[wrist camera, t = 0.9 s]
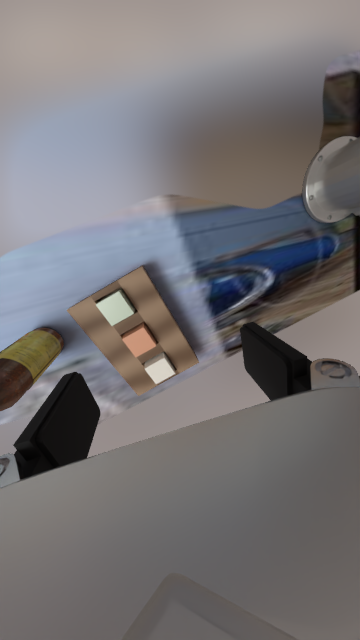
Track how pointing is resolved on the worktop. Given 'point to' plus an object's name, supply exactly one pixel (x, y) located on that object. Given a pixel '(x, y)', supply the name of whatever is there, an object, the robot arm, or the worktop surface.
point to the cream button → (159, 367)
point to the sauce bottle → (26, 363)
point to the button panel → (146, 310)
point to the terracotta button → (139, 339)
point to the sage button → (116, 307)
